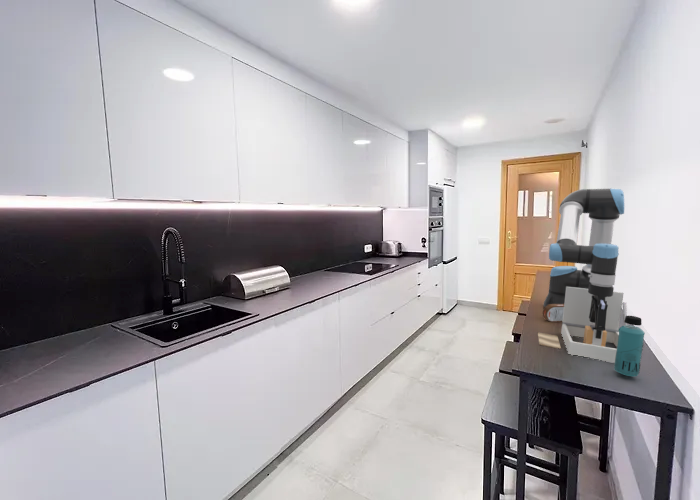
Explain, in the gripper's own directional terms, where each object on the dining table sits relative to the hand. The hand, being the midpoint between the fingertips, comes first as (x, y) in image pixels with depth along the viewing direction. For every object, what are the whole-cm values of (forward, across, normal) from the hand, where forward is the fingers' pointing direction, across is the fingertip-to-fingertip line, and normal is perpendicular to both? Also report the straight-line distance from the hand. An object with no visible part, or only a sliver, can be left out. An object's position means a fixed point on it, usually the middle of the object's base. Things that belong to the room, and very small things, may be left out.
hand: (594, 342), depth 127 cm
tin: (+3, -30, -9) cm, 31 cm away
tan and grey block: (+3, 0, 0) cm, 3 cm away
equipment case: (+3, 0, 0) cm, 3 cm away
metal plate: (+3, 0, -15) cm, 15 cm away
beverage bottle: (+3, +21, +5) cm, 22 cm away
